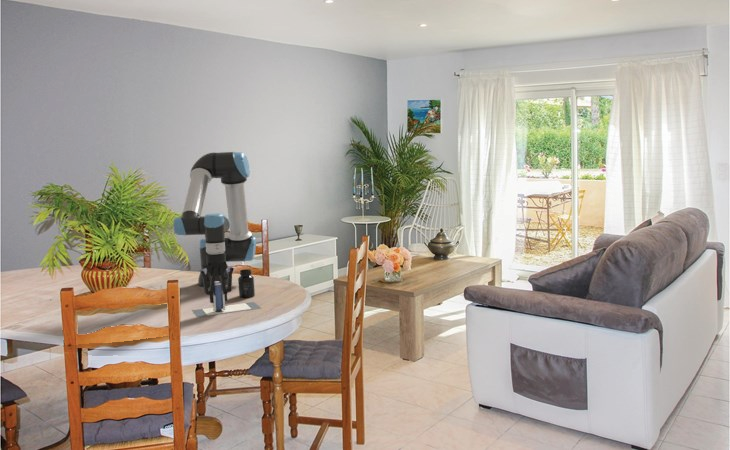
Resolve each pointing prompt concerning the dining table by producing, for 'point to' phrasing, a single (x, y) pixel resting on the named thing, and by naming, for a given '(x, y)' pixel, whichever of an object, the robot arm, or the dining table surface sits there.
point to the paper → (228, 309)
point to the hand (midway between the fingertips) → (219, 309)
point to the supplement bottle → (246, 284)
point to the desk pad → (202, 314)
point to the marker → (218, 295)
